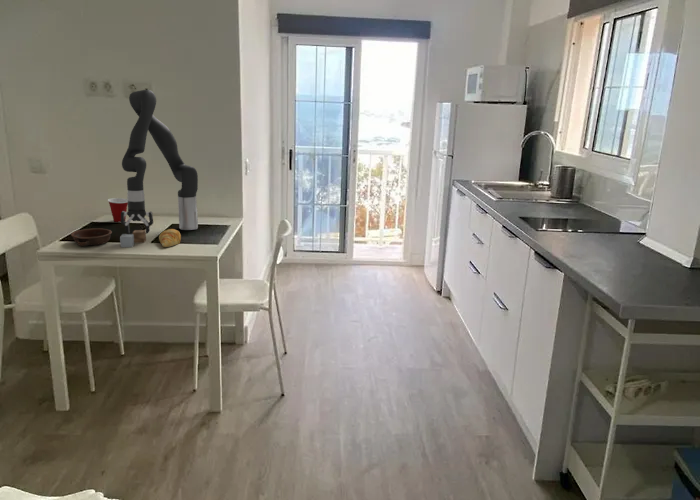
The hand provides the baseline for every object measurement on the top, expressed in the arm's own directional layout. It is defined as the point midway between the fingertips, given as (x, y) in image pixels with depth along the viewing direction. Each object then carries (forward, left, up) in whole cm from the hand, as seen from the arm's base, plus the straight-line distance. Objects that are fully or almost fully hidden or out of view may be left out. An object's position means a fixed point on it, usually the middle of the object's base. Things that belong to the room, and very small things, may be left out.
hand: (137, 233), depth 265 cm
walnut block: (-1, 0, -4) cm, 4 cm away
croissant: (-15, +3, -5) cm, 16 cm away
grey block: (+3, +8, -4) cm, 10 cm away
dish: (+20, +1, -5) cm, 21 cm away
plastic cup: (+17, -44, -4) cm, 47 cm away
